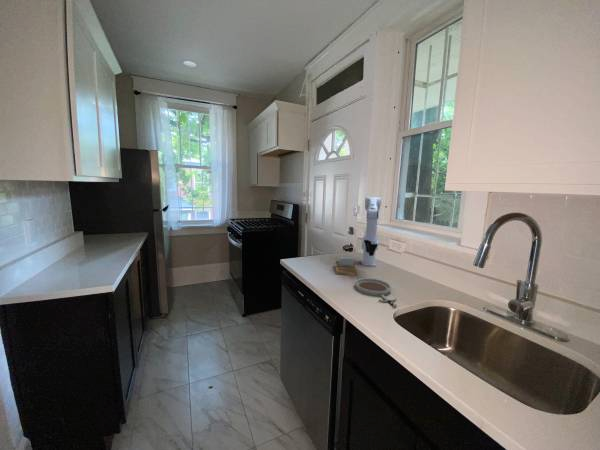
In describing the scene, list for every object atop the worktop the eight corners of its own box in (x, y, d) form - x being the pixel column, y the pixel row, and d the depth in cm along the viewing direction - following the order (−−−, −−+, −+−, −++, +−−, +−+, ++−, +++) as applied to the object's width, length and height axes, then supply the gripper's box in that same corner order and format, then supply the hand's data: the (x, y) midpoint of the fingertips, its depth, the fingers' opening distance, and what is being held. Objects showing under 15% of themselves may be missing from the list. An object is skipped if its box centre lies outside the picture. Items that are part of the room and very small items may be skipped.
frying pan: (376, 304, 100) (349, 278, 127) (376, 311, 101) (349, 283, 128) (414, 302, 104) (380, 276, 131) (413, 308, 104) (379, 281, 131)
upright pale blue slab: (338, 268, 147) (339, 257, 146) (352, 269, 147) (352, 257, 146) (338, 269, 145) (339, 258, 144) (352, 270, 145) (353, 258, 144)
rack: (334, 266, 153) (335, 260, 153) (353, 267, 153) (353, 261, 152) (336, 274, 140) (337, 268, 139) (356, 275, 139) (357, 268, 139)
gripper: (361, 228, 150) (360, 250, 152) (366, 232, 136) (365, 256, 138) (373, 228, 150) (372, 251, 152) (380, 232, 135) (378, 257, 137)
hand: (369, 253), depth 145 cm, fingers open, 7 cm apart
